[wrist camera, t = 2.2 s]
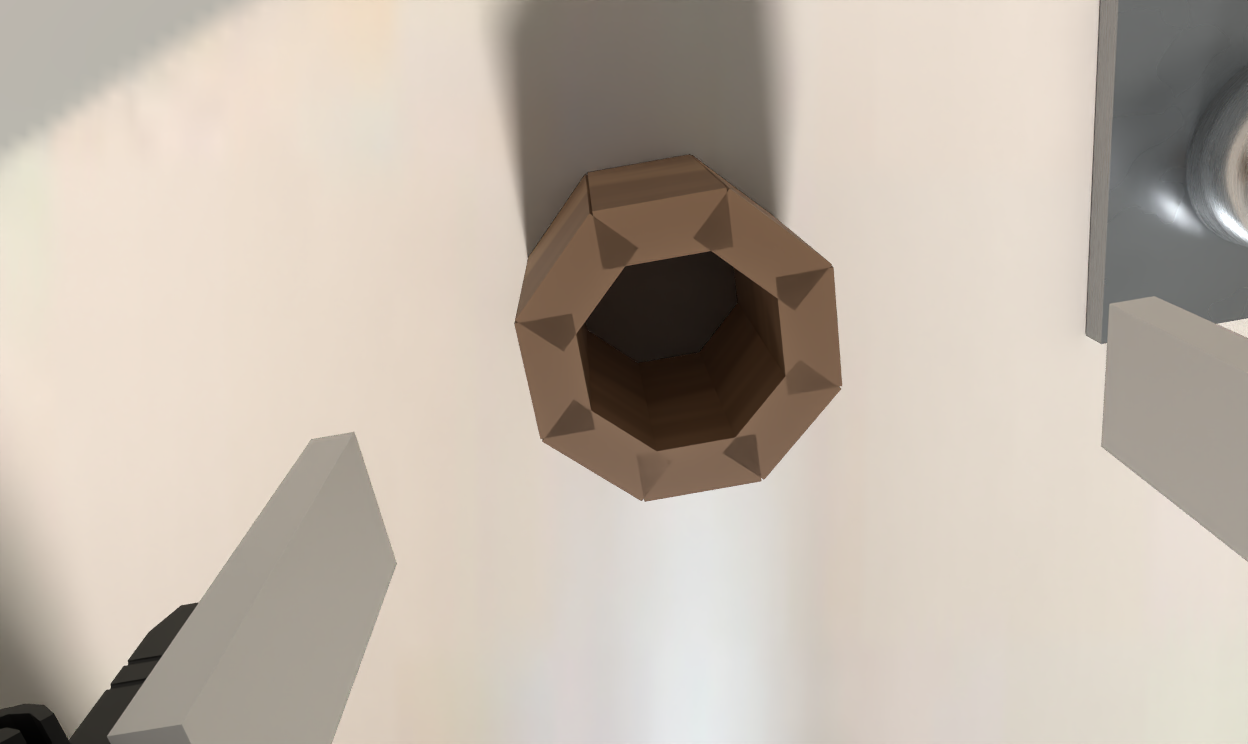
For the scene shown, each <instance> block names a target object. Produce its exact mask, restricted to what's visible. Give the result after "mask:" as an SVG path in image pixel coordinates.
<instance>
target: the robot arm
mask: <svg viewBox="0 0 1248 744" xmlns="http://www.w3.org/2000/svg"><path fill="white" fill-rule="evenodd" d="M1101 447H1103V448H1104V449H1105V450H1106V451H1108V452H1109V453H1110V454H1111V455H1113V456H1114V457H1115V458H1117V459H1118V460H1119V461H1120V462H1122V463H1123V464H1124V465H1125V466H1127V467H1128V468H1129V469H1131V470H1132V471H1133V472H1134V473H1136V474H1137V475H1138V476H1139V477H1141V478H1142V479H1143V480H1145V481H1146V482H1147V483H1148V484H1150V485H1151V486H1152V487H1153V488H1155V489H1156V490H1157V491H1159V492H1160V493H1161V494H1162V495H1164V496H1165V497H1166V498H1167V499H1169V500H1170V501H1171V502H1173V503H1174V504H1175V505H1176V506H1178V507H1179V508H1180V509H1181V510H1183V511H1184V512H1185V513H1186V514H1188V515H1189V516H1190V517H1192V518H1193V519H1194V520H1195V521H1197V522H1198V523H1199V524H1200V525H1202V526H1203V527H1204V528H1206V529H1207V530H1208V531H1209V532H1211V533H1212V534H1213V535H1214V536H1216V537H1217V538H1218V539H1220V540H1221V541H1222V542H1223V543H1225V544H1226V545H1227V546H1228V547H1230V548H1231V549H1232V550H1234V551H1235V552H1236V553H1237V554H1239V555H1240V556H1241V557H1242V558H1244V559H1245V560H1246V561H1248V338H1246V337H1244V336H1242V335H1240V334H1238V333H1235V332H1233V331H1231V330H1229V329H1226V328H1224V327H1222V326H1220V325H1218V324H1215V323H1213V322H1211V321H1209V320H1206V319H1204V318H1202V317H1200V316H1197V315H1195V314H1193V313H1191V312H1189V311H1186V310H1184V309H1182V308H1180V307H1177V306H1175V305H1173V304H1171V303H1168V302H1166V301H1164V300H1162V299H1160V298H1157V297H1155V296H1152V297H1147V298H1141V299H1135V300H1129V301H1123V302H1117V303H1111V304H1109V320H1108V337H1107V355H1106V372H1105V390H1104V407H1103V425H1102V442H1101ZM396 564H397V563H396V560H395V557H394V554H393V550H392V547H391V544H390V541H389V538H388V535H387V532H386V529H385V526H384V522H383V519H382V516H381V513H380V510H379V507H378V504H377V501H376V497H375V494H374V491H373V488H372V485H371V482H370V479H369V476H368V472H367V469H366V466H365V463H364V460H363V457H362V454H361V451H360V448H359V444H358V441H357V438H356V435H355V432H352V433H346V434H340V435H334V436H328V437H322V438H316V439H311V441H310V442H309V444H308V445H307V446H306V448H305V449H304V451H303V452H302V454H301V455H300V457H299V458H298V459H297V461H296V462H295V464H294V465H293V467H292V468H291V470H290V471H289V473H288V474H287V475H286V477H285V478H284V480H283V481H282V483H281V484H280V486H279V487H278V489H277V490H276V491H275V493H274V494H273V496H272V497H271V499H270V500H269V502H268V503H267V505H266V506H265V507H264V509H263V510H262V512H261V513H260V515H259V516H258V518H257V519H256V520H255V522H254V523H253V525H252V526H251V528H250V529H249V531H248V532H247V534H246V535H245V536H244V538H243V539H242V541H241V542H240V544H239V545H238V547H237V548H236V550H235V551H234V552H233V554H232V555H231V557H230V558H229V560H228V561H227V563H226V564H225V566H224V567H223V568H222V570H221V571H220V573H219V574H218V576H217V577H216V579H215V580H214V581H213V583H212V584H211V586H210V587H209V589H208V590H207V592H206V593H205V595H204V596H203V597H202V599H201V600H200V602H199V603H193V604H187V605H181V606H180V607H179V608H177V609H176V610H175V611H174V612H173V613H171V614H170V615H169V616H168V617H167V618H165V619H164V620H163V621H162V622H161V623H159V624H158V625H157V626H156V627H154V628H153V629H152V630H151V631H150V632H149V633H148V634H147V635H146V637H145V638H144V639H143V641H142V642H141V643H140V645H139V646H138V647H137V649H136V650H135V652H134V653H133V654H132V656H131V657H130V658H129V660H128V666H123V668H122V669H121V670H120V672H119V673H118V675H117V676H116V677H115V679H114V680H113V681H112V683H111V689H110V690H106V691H105V692H104V694H103V695H102V696H101V698H100V699H99V700H98V702H97V703H96V704H95V706H94V707H93V708H92V710H91V711H90V712H89V714H88V715H87V717H86V718H85V719H84V721H83V722H82V723H81V725H80V726H79V727H78V729H77V730H76V731H75V733H74V734H73V735H72V737H71V738H70V740H68V738H67V737H66V735H65V733H64V731H63V729H62V728H61V726H60V724H59V722H58V720H57V718H56V717H55V715H54V713H52V712H51V711H50V710H49V709H48V708H47V707H46V706H45V705H35V704H22V705H18V706H14V707H9V708H5V709H1V710H0V744H332V741H333V738H334V736H335V733H336V730H337V727H338V724H339V722H340V719H341V716H342V713H343V711H344V708H345V705H346V702H347V700H348V697H349V694H350V691H351V688H352V686H353V683H354V680H355V677H356V675H357V672H358V669H359V666H360V664H361V661H362V658H363V655H364V653H365V650H366V647H367V644H368V641H369V639H370V636H371V633H372V630H373V628H374V625H375V622H376V619H377V617H378V614H379V611H380V608H381V606H382V603H383V600H384V597H385V594H386V592H387V589H388V586H389V583H390V581H391V578H392V575H393V572H394V570H395V567H396Z"/></svg>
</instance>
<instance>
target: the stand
mask: <svg viewBox="0 0 1248 744" xmlns="http://www.w3.org/2000/svg"><path fill="white" fill-rule="evenodd" d="M1152 296H1155V297H1157V298H1160V299H1162V300H1164V301H1166V302H1168V303H1171V304H1173V305H1175V306H1177V307H1180V308H1182V309H1184V310H1186V311H1189V312H1191V313H1193V314H1195V315H1197V316H1200V317H1202V318H1204V319H1206V320H1209V321H1211V322H1213V323H1215V324H1217V323H1223V322H1229V321H1234V320H1240V319H1246V318H1248V0H1100V23H1099V46H1098V69H1097V92H1096V116H1095V139H1094V162H1093V185H1092V208H1091V231H1090V255H1089V278H1088V301H1087V324H1086V336H1088V337H1090V338H1091V339H1093V340H1095V341H1097V342H1099V343H1100V344H1104V343H1107V337H1108V320H1109V304H1111V303H1117V302H1123V301H1129V300H1135V299H1141V298H1147V297H1152Z"/></svg>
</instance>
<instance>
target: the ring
mask: <svg viewBox="0 0 1248 744" xmlns="http://www.w3.org/2000/svg"><path fill="white" fill-rule="evenodd" d="M708 251H712V252H713V253H715V254H716V255H717V256H719V257H720V258H722V259H723V260H724V261H726V262H727V263H729V264H730V265H731V266H733V267H734V276H735V284H736V292H737V301H738V303H737V305H736V306H735V307H734V308H733V310H732V311H731V312H730V314H729V315H728V316H727V317H726V319H725V320H724V321H723V323H722V324H721V325H720V326H719V328H718V329H717V330H716V332H715V333H714V334H713V335H712V337H711V338H710V339H709V341H708V342H707V343H706V344H705V346H704V347H703V348H702V350H701V351H700V352H698V353H692V354H687V355H681V356H675V357H670V358H664V359H658V360H653V361H647V362H641V363H637V362H636V361H634V360H633V359H631V358H630V357H628V356H627V355H625V354H623V353H622V352H620V351H619V350H617V349H616V348H614V347H613V346H611V345H610V344H608V343H607V342H605V341H604V340H602V339H601V338H599V337H597V336H596V335H594V334H593V333H591V332H590V331H588V330H587V328H586V322H585V321H586V320H587V318H588V317H589V316H590V314H591V313H592V312H593V310H594V309H595V307H596V306H597V305H598V303H599V302H600V300H601V299H602V298H603V296H604V295H605V294H606V292H607V291H608V289H609V288H610V287H611V285H612V284H613V282H614V281H615V280H616V278H617V277H618V276H619V274H620V273H621V271H622V270H623V269H624V267H625V266H629V265H635V264H640V263H646V262H652V261H657V260H663V259H668V258H674V257H680V256H685V255H691V254H697V253H702V252H708ZM831 265H832V264H831V263H830V262H828V261H827V260H826V259H825V258H824V257H822V256H821V255H820V254H819V253H817V252H816V251H815V250H814V249H813V248H811V247H810V246H809V245H808V244H807V243H805V242H804V241H803V240H802V239H801V238H799V237H798V236H797V235H796V234H795V233H793V232H792V231H791V230H790V229H789V228H787V227H786V226H785V225H784V224H782V223H781V222H780V221H779V220H778V219H776V218H775V217H774V216H773V215H772V214H770V213H769V212H768V211H766V210H765V209H764V208H762V207H761V206H760V205H758V204H757V203H756V202H754V201H753V200H752V199H750V198H749V197H748V196H746V195H745V194H744V193H742V192H741V191H740V190H738V189H737V188H736V187H734V186H733V185H732V184H730V183H729V182H727V181H726V180H725V179H723V178H722V177H721V176H719V175H718V174H717V173H715V172H714V171H713V170H711V169H710V168H709V167H707V166H706V165H705V164H703V163H702V162H701V161H699V160H698V159H697V158H695V157H694V156H693V155H692V156H691V155H690V154H689V155H683V156H677V157H672V158H666V159H661V160H655V161H649V162H644V163H638V164H632V165H627V166H621V167H616V168H610V169H604V170H599V171H593V172H588V176H587V175H586V174H585V175H584V176H583V178H582V179H581V181H580V182H579V184H578V185H577V187H576V188H575V190H574V191H573V193H572V194H571V196H570V197H569V198H568V200H567V201H566V203H565V204H564V206H563V207H562V209H561V210H560V212H559V213H558V215H557V216H556V218H555V219H554V220H553V222H552V223H551V225H550V226H549V228H548V229H547V231H546V232H545V234H544V235H543V237H542V238H541V240H540V241H539V242H538V244H537V245H536V247H535V248H534V250H533V251H532V253H531V254H530V256H529V257H528V261H527V266H526V271H525V275H524V280H523V285H522V290H521V294H520V299H519V304H518V309H517V314H516V318H515V323H514V324H515V328H516V333H517V337H518V342H519V346H520V350H521V355H522V359H523V364H524V368H525V373H526V377H527V381H528V386H529V390H530V395H531V399H532V403H533V408H534V412H535V417H536V421H537V426H538V430H539V434H540V439H543V440H542V442H544V443H546V444H547V445H549V446H551V447H552V448H554V449H556V450H557V451H559V452H561V453H562V454H564V455H566V456H567V457H569V458H571V459H572V460H574V461H576V462H577V463H579V464H581V465H582V466H584V467H586V468H587V469H589V470H591V471H592V472H594V473H596V474H597V475H599V476H601V477H602V478H604V479H606V480H607V481H609V482H611V483H612V484H614V485H616V486H617V487H619V488H621V489H622V490H624V491H626V492H627V493H629V494H631V495H632V496H634V497H636V498H637V499H639V500H641V501H642V500H643V499H644V501H645V502H646V501H651V500H657V499H663V498H668V497H674V496H680V495H686V494H691V493H697V492H703V491H708V490H714V489H720V488H725V487H731V486H737V485H743V484H748V483H754V482H760V481H761V478H762V479H765V478H766V477H767V476H768V474H769V473H770V472H771V471H772V470H773V469H774V467H775V466H776V465H777V464H778V463H779V462H780V460H781V459H782V458H783V457H784V456H785V454H786V453H787V452H788V451H789V450H790V449H791V447H792V446H793V445H794V444H795V443H796V441H797V440H798V439H799V438H800V437H801V436H802V434H803V433H804V432H805V431H806V430H807V429H808V427H809V426H810V425H811V424H812V423H813V421H814V420H815V419H816V418H817V417H818V416H819V414H820V413H821V412H822V411H823V410H824V409H825V407H826V406H827V405H828V404H829V403H830V401H831V400H832V399H833V398H834V397H835V396H836V394H837V393H838V392H839V391H840V390H841V388H840V387H839V386H842V377H841V364H840V350H839V337H838V323H837V310H836V296H835V283H834V269H833V267H832V266H831Z"/></svg>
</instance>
